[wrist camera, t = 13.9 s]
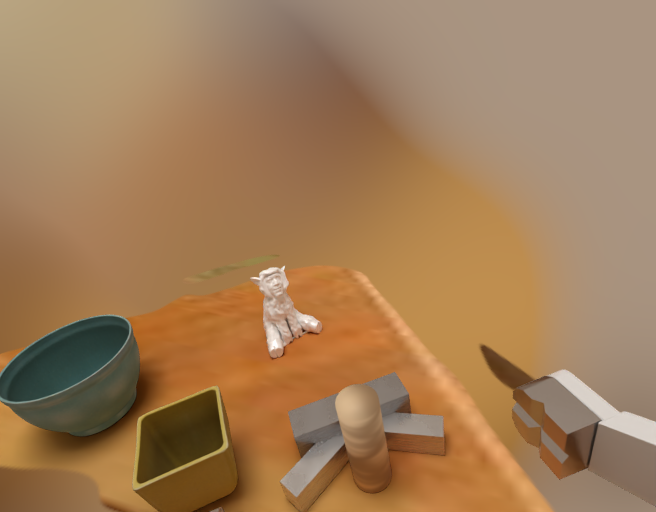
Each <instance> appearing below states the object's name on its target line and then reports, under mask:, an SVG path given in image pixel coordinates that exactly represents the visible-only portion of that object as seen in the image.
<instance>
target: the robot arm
mask: <svg viewBox="0 0 656 512" xmlns="http://www.w3.org/2000/svg"><path fill="white" fill-rule="evenodd" d="M513 399H514V400H515V401H516V402H517V403H516V404H515V406H514V407H513V409H512V418H513V421H514V424H515V426H516V428H517V430H518V431H519V433H520V434H521V436H522V437H523V438H524V439H525V441H526V442H527V443H529V444H531V445H533V446H536V447H538V448H539V453H540V458H541V459H542V460H543V461H544V462H545V464H546V465H547V466H548V467H549V468H550V469H551V470H552V472H553V473H554V474H555V475H556V476H557V477H558V478H559V480H560V479H562V478H565V477H567V476H570V475H572V474H575V473H577V472H579V471H582V470H584V469H586V468H588V470H589V471H591V472H593V473H595V474H597V475H598V476H600V477H602V478H604V479H606V480H607V481H609V482H611V483H613V484H615V485H617V486H618V487H620V488H622V489H624V490H626V491H628V492H629V493H631V494H633V495H635V496H637V497H639V498H641V499H642V500H644V501H646V502H648V503H650V504H652V505H654V506H655V507H656V422H655V421H652V420H649V419H646V418H643V417H641V416H638V415H635V414H632V413H629V412H626V411H624V412H621V413H620V412H619V411H617V410H616V409H615V408H614V407H612V406H611V405H610V404H609V403H607V402H606V401H605V400H604V399H603V398H601V397H600V396H599V395H598V394H596V393H595V392H594V391H593V390H592V389H590V388H589V387H588V386H587V385H585V384H584V383H583V382H582V381H580V380H579V379H578V378H577V377H576V376H574V375H573V374H572V373H571V372H569V371H567V370H559V371H557V372H554V373H552V374H550V375H548V376H544V377H541V378H539V379H536V380H534V381H532V382H529V383H527V384H525V385H522V386H520V387H518V388H516V389H515V390H514V391H513ZM209 512H224V510H223V508H222V507H219V508H216V509H214V510H211V511H209Z"/></svg>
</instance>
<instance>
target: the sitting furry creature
mask: <svg viewBox="0 0 656 512" xmlns="http://www.w3.org/2000/svg"><path fill="white" fill-rule="evenodd" d="M284 268H285V266H283V267H282V268H281V269H279V268H275V267H274V268H269V269H268V270H264V271H262V272H261V273H260V276H259V278H257V277H253V278H250V280H251V281H252V282H253V283H255V284H256V285H258V286H260V291H261V293H262V294H264V295H265V299H264V301H263V304H264V305H263V308H264V316H263V323H264V328H265V332H266V338H267V344H268V350H269V353H270V356H271V357H273V358H277V356H278V357H280V356H281V355H282V354H283V350H284V348H283V347H285V346H286V345H287V344H289V343H290V341H291V342H292V341H293V339H294V338H299V336H298V335H300V337H302V335H304V334H306V333H307V332H313V333H318V334H319V333H320V332H321V330H322V324H321V322H319V321H318V320H317V319H315V318H314V317H313V316H308V315H306V314H305V315H303V314H302V313H300V312H298V310H296V309H295V308H294V306H293V302H292V301H291V298H290V297H289V296H288V294H287V293H286V289H287V287H288V285H289V282H288V280H287V278H286V277H285V272H284ZM303 330H305V332H304V333H302V331H303ZM290 331H292V334H293V335H294V337H292V334H291V332H290ZM282 340H283V341H282Z"/></svg>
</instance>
